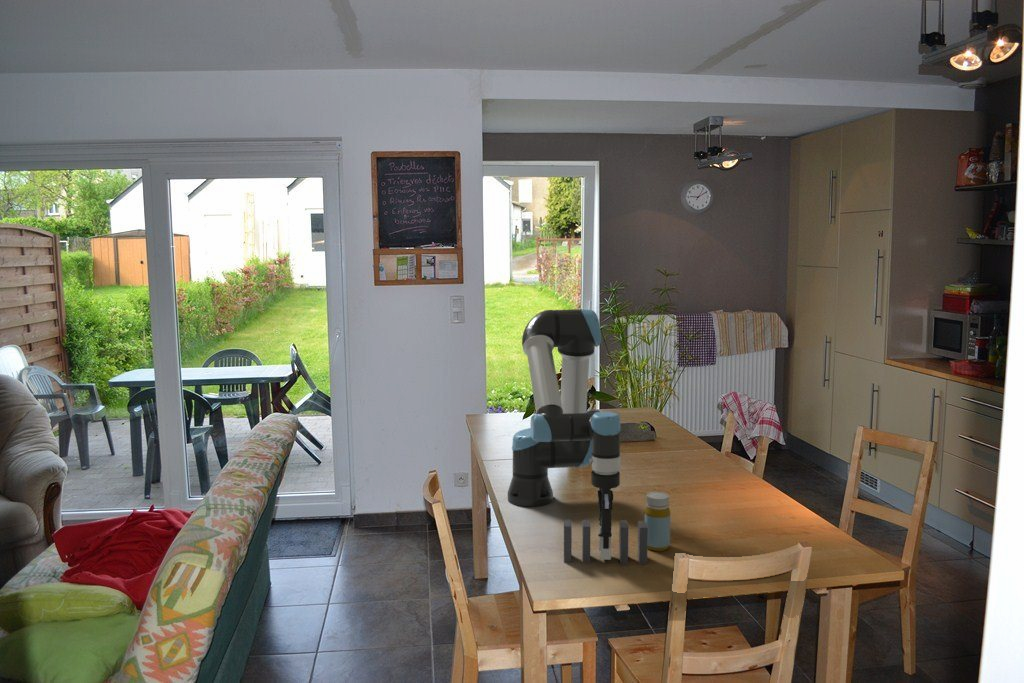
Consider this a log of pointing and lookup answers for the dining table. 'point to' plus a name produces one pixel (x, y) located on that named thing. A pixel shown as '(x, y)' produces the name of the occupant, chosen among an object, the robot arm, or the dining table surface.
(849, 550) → the dining table surface
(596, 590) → the dining table surface
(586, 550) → the domino
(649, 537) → the bottle
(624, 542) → the domino
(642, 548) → the domino
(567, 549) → the domino
